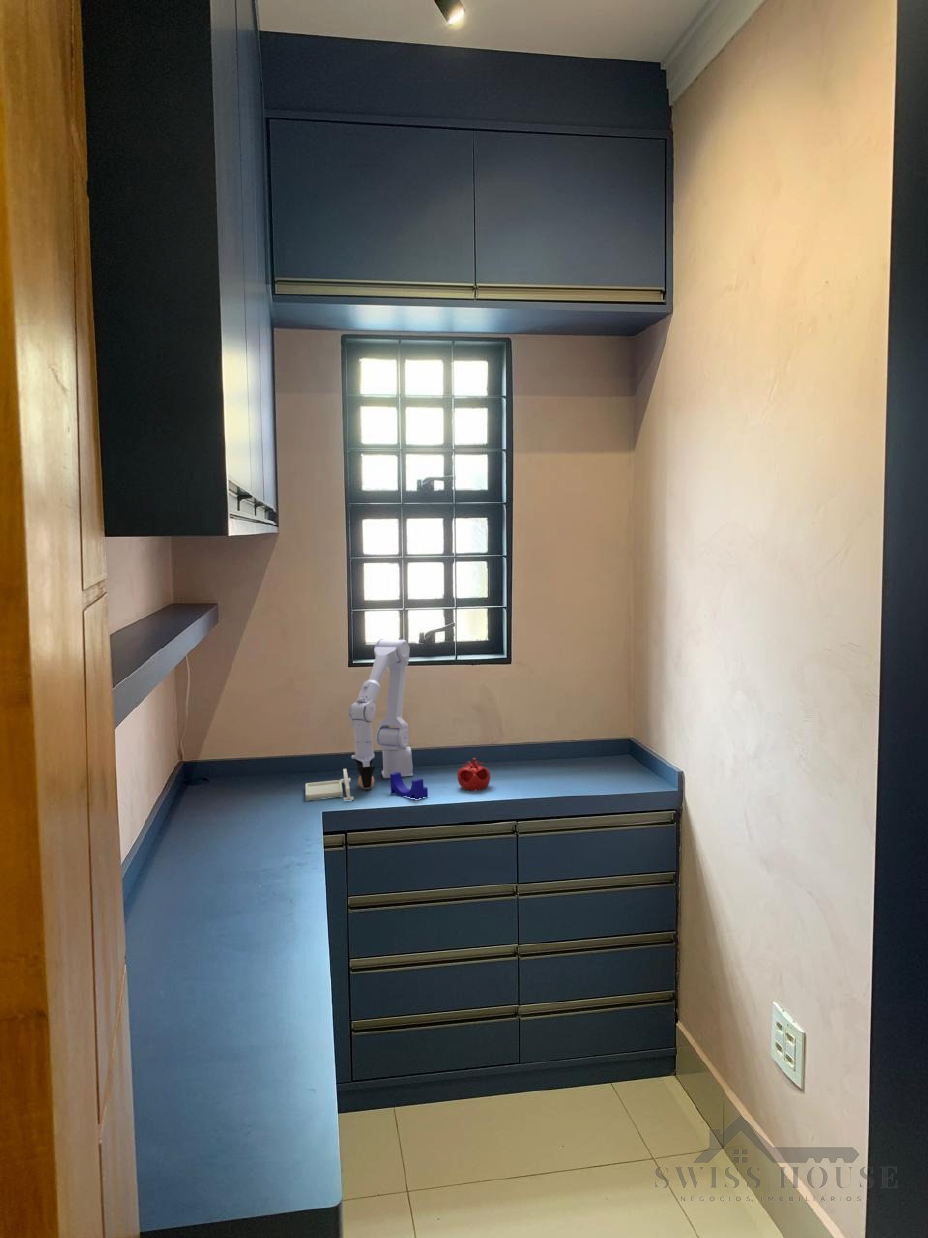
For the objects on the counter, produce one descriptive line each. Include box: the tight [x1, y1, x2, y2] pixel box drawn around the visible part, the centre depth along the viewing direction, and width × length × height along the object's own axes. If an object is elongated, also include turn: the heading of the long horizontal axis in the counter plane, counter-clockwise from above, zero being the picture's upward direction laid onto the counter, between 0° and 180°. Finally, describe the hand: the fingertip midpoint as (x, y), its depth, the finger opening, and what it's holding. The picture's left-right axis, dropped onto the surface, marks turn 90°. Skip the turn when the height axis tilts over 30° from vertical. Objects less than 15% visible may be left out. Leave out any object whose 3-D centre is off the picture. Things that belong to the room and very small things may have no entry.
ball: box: [357, 774, 375, 790], centre depth 270 cm, size 5×5×5 cm
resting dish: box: [305, 779, 344, 802], centre depth 268 cm, size 11×13×2 cm
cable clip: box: [389, 772, 429, 799], centre depth 262 cm, size 12×4×6 cm, turn 43°
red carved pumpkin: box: [456, 757, 491, 792], centre depth 265 cm, size 10×10×9 cm
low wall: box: [340, 768, 355, 801], centre depth 269 cm, size 3×22×4 cm, turn 10°
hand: (366, 784), depth 270 cm, fingers open, 7 cm apart
